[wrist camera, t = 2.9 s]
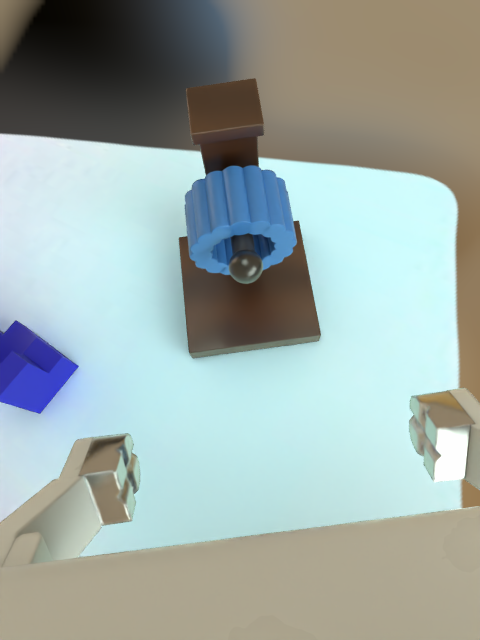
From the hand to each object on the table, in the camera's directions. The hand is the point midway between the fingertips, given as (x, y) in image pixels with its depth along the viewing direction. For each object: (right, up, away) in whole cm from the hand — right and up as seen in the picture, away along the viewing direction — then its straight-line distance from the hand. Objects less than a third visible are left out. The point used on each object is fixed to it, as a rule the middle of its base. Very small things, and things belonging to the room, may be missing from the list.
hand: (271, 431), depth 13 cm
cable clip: (-20, +1, +24) cm, 31 cm away
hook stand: (0, +6, +24) cm, 25 cm away
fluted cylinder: (-1, +8, +15) cm, 17 cm away
